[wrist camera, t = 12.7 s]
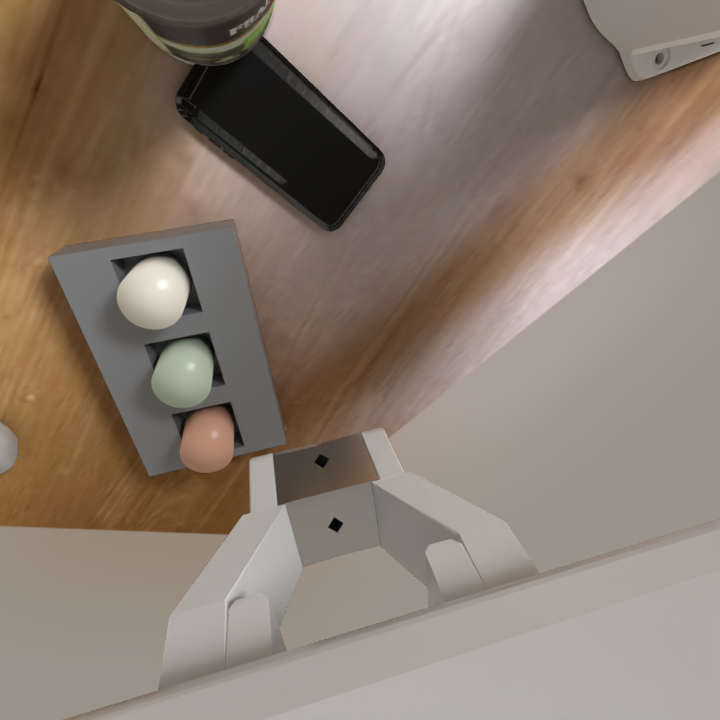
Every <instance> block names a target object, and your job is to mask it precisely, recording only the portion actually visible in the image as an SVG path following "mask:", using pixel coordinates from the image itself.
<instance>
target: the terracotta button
mask: <svg viewBox="0 0 720 720" xmlns="http://www.w3.org/2000/svg"><path fill="white" fill-rule="evenodd" d="M234 424H235V417H234V414H233V411H232V410H231V409H230V408H229V407H228V406H227V405H226V404H224V403H222V404H218V405H213V406H209V407H204V408H200V409H195V410H191V411H189V412H188V414H187V417H186V422H185V427H184V432H183V437H182V442H181V447H180V458H181V460H182V462H183V463H184V465H185V466H187V467H188V468H189V469H191V470H193V471H196V472H201V473H210V472H215V471H218V470H221V469H222V468H224V467H225V466H227V465H228V464H229V463H230V461H231V460H232V457H233V453H234Z"/></svg>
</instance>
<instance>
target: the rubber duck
mask: <svg viewBox="0 0 720 720" xmlns="http://www.w3.org/2000/svg"><path fill="white" fill-rule="evenodd" d="M17 456H18V440H17V437H16V436H15V434H14V433H13V432H12V430H11V429H10V428H9V427H8V426H6V425H4V424H3V423H1V422H0V473H3V472H5V471H7V470H8V469H10V468H11V467H12V466H13V464H14V463H15V461H16V459H17Z"/></svg>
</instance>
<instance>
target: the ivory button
mask: <svg viewBox="0 0 720 720" xmlns="http://www.w3.org/2000/svg"><path fill="white" fill-rule="evenodd" d="M191 286H192V280H191V275H190V273H189V271H188V269H187V267H186V266H185V265H184V264H183V263H182V262H181V261H180V260H179V259H177V258H176V257H174V256H171V255H169V254H165V253H153V254H149V255H146V256H144V257H143V258H141V259H140V260H139V261H138V262H137V263H136V265H135V266H134V267H133V268H132V270H131V271H130V272H129V273H128V274H127V276H126V277H125V278H124V279H123V281H122V282H121V283H120V285H119V287H118V290H117V303H118V306H119V308H120V310H121V312H122V313H123V315H124V316H125V317H126V318H127V319H128V320H129V321H131V322H132V323H133V324H135V325H137V326H139V327H142V328H145V329H152V330H158V329H164V328H167V327H169V326H171V325H173V324H174V323H176V322H177V321H178V320H179V318H180V317H181V315H182V314H183V311H184V308H185V305H186V302H187V299H188V296H189V293H190V290H191Z"/></svg>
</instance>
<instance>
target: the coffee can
mask: <svg viewBox="0 0 720 720" xmlns="http://www.w3.org/2000/svg"><path fill="white" fill-rule="evenodd" d="M114 1H115V2H116V3H117V4H118V5H119V6H120V7H121V8H122V9H123V10H124V11H125V12H126V13H127V14H128V15H129V16H130V17H131V18H132V19H133V21H134V22H136V24H137V25H138V26H139V28H140V29H141V30H142V31H143V32H144V33H145V35H146V36H147V37H148V38H149V39H150V40H151V41H152V42H153V43H155V44H156V45H157V46H158V47H159V48H160V49H162V50H163V51H164V52H166V53H168V54H169V55H170V56H172V57H174V58H176V59H178V60H180V61H182V62H185V63H187V64H190V65H194V64H200V65H222V64H228V63H231V62H233V61H235V60H237V59H239V58H241V57H242V56H244V55H245V54H247V53H248V52H249V51H250V50H251V49H252V48H253V47H254V46H255V45H256V44H257V43H258V42H259V40H260V39H261V37H262V36H263V37H264V36H265V34H266V32H267V30H268V28H269V26H270V23H271V20H272V17H273V13H274V8H275V1H276V0H114Z"/></svg>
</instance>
